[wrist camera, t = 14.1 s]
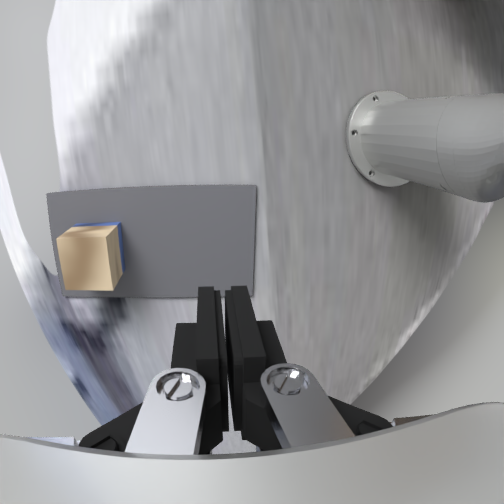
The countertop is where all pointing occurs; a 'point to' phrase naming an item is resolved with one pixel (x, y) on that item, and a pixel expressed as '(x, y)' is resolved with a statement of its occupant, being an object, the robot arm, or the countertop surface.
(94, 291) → the mat
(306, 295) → the countertop surface
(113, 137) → the countertop surface
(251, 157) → the countertop surface
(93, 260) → the cube
